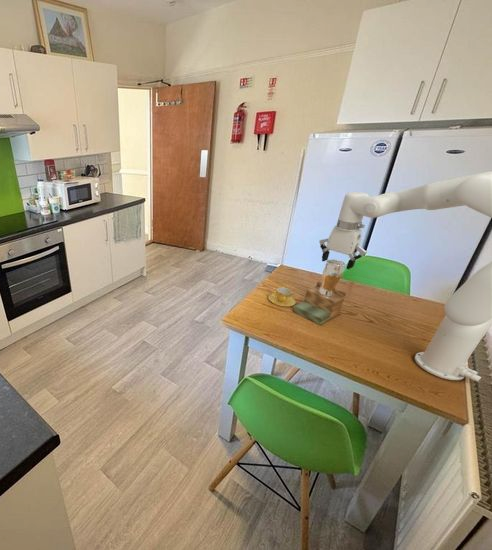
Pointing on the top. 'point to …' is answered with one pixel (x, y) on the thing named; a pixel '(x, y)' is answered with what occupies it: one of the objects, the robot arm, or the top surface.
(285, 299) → the cup
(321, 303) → the shelf riser
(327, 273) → the beer glass
